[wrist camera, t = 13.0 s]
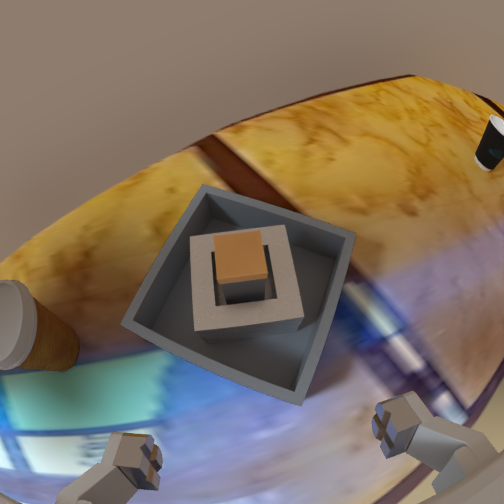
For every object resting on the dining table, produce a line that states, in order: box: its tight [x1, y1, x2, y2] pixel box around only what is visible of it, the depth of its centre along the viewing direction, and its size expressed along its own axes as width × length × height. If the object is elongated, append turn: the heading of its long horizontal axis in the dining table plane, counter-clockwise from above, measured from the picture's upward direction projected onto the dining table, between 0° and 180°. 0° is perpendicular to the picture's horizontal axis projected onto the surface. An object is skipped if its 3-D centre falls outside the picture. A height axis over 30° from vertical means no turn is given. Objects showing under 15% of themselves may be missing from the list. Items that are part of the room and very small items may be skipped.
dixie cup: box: [474, 115, 504, 172], centre depth 39 cm, size 8×8×11 cm
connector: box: [213, 230, 268, 305], centre depth 26 cm, size 4×4×8 cm
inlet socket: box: [190, 225, 304, 344], centre depth 29 cm, size 9×9×6 cm
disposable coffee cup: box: [0, 280, 79, 371], centre depth 24 cm, size 10×10×12 cm
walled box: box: [120, 184, 356, 406], centre depth 29 cm, size 18×18×6 cm
